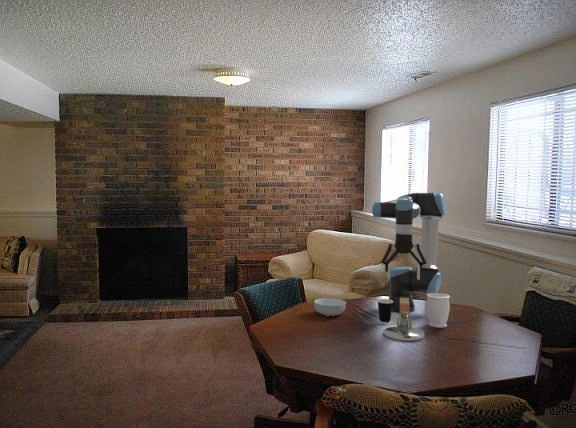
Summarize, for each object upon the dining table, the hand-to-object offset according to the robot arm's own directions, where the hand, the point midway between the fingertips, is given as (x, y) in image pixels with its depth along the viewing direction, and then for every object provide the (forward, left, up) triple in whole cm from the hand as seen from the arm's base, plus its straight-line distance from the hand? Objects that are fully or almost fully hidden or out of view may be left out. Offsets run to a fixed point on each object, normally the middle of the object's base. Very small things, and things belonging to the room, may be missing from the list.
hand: (403, 279), depth 223 cm
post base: (+5, 0, -25) cm, 25 cm away
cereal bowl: (-28, -33, -25) cm, 50 cm away
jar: (-12, +19, -25) cm, 34 cm away
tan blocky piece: (+5, 0, -22) cm, 22 cm away
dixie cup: (-15, -6, -25) cm, 30 cm away
